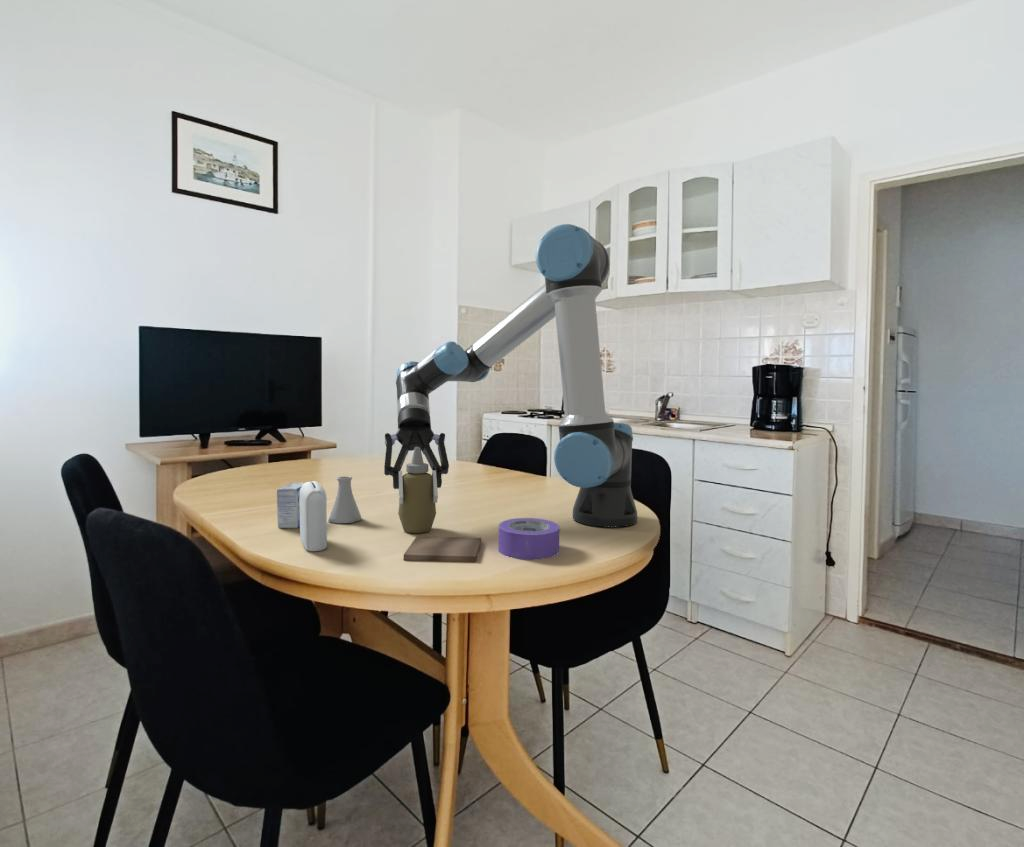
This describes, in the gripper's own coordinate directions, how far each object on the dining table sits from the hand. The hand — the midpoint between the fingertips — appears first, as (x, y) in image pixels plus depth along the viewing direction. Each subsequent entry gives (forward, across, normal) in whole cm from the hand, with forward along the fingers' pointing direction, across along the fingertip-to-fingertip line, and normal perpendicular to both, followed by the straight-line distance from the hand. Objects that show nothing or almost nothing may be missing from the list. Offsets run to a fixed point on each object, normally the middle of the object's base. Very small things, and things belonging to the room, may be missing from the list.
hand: (418, 499), depth 116 cm
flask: (-5, +16, -16) cm, 23 cm away
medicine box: (-4, +26, -15) cm, 31 cm away
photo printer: (+8, +20, -3) cm, 22 cm away
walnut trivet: (+14, -4, +3) cm, 15 cm away
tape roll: (+16, -20, +4) cm, 26 cm away
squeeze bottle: (+3, 0, -8) cm, 8 cm away
